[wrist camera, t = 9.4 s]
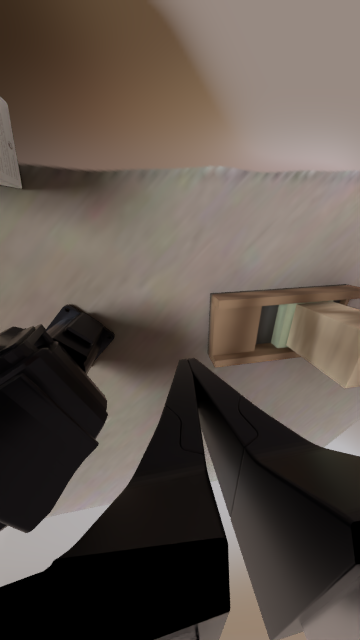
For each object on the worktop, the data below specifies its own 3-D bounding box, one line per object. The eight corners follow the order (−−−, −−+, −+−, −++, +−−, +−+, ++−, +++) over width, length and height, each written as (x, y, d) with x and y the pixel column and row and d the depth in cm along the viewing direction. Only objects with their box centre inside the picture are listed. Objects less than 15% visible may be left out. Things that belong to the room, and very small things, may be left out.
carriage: (286, 345, 24) (344, 388, 17) (296, 304, 21) (370, 333, 14) (318, 341, 24) (388, 381, 17) (331, 301, 22) (419, 328, 15)
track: (207, 353, 25) (215, 367, 22) (210, 293, 22) (219, 300, 19) (325, 340, 28) (345, 351, 25) (345, 284, 24) (371, 289, 21)
